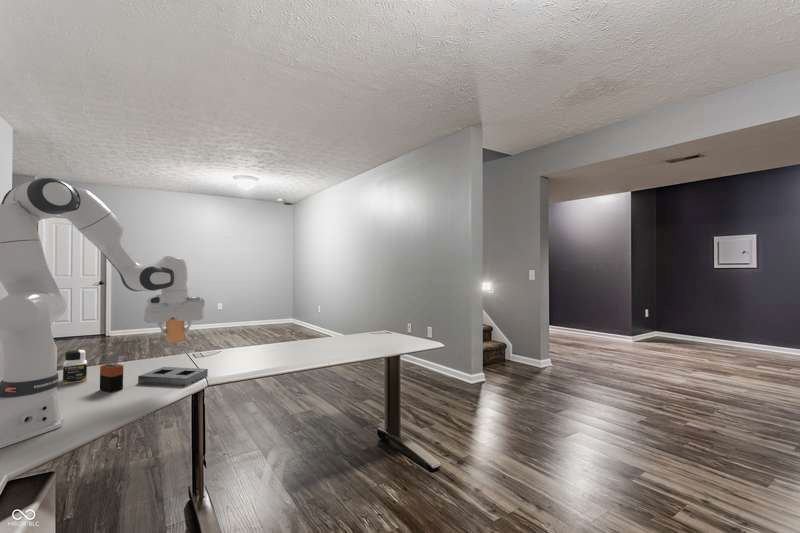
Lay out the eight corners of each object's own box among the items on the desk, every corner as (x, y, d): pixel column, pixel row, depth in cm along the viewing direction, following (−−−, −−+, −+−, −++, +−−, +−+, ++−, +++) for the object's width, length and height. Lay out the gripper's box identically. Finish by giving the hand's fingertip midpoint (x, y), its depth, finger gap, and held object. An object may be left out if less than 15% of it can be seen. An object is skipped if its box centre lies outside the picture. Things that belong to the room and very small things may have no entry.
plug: (171, 343, 143) (170, 318, 143) (166, 341, 145) (165, 317, 145) (184, 340, 147) (184, 316, 147) (179, 339, 150) (179, 315, 149)
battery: (111, 392, 136) (111, 365, 136) (98, 390, 138) (99, 363, 138) (123, 389, 140) (124, 362, 140) (111, 386, 142) (112, 360, 142)
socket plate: (186, 386, 145) (186, 378, 145) (138, 383, 147) (138, 376, 147) (207, 375, 159) (207, 368, 159) (163, 373, 161) (163, 366, 161)
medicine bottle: (62, 384, 144) (63, 353, 144) (63, 379, 149) (63, 350, 149) (86, 381, 149) (87, 351, 149) (86, 376, 154) (87, 347, 154)
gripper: (205, 296, 153) (206, 329, 153) (147, 298, 146) (148, 333, 146) (202, 297, 147) (203, 332, 147) (142, 299, 140) (143, 336, 140)
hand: (175, 332), depth 146 cm, fingers closed on plug, 6 cm apart
